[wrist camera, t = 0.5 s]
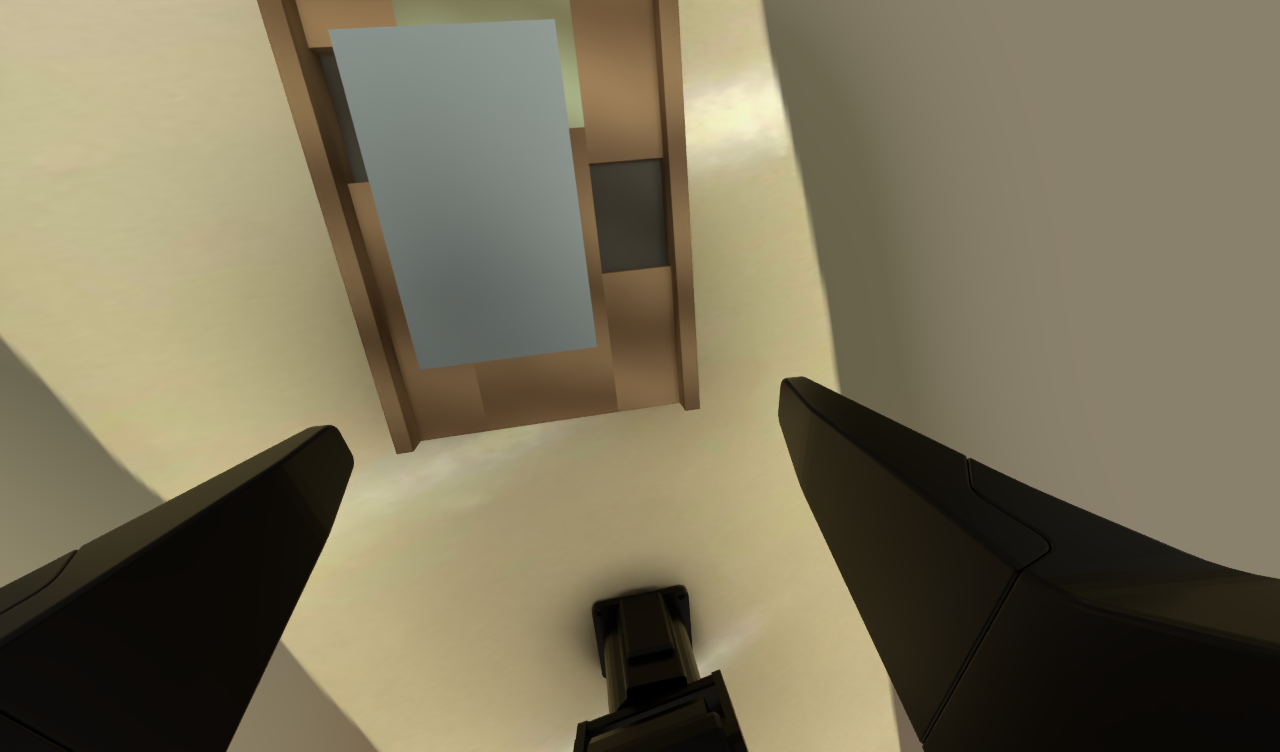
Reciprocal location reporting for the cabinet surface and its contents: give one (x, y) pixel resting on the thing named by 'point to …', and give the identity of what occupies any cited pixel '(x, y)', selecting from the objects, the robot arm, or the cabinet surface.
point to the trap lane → (608, 203)
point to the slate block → (472, 185)
